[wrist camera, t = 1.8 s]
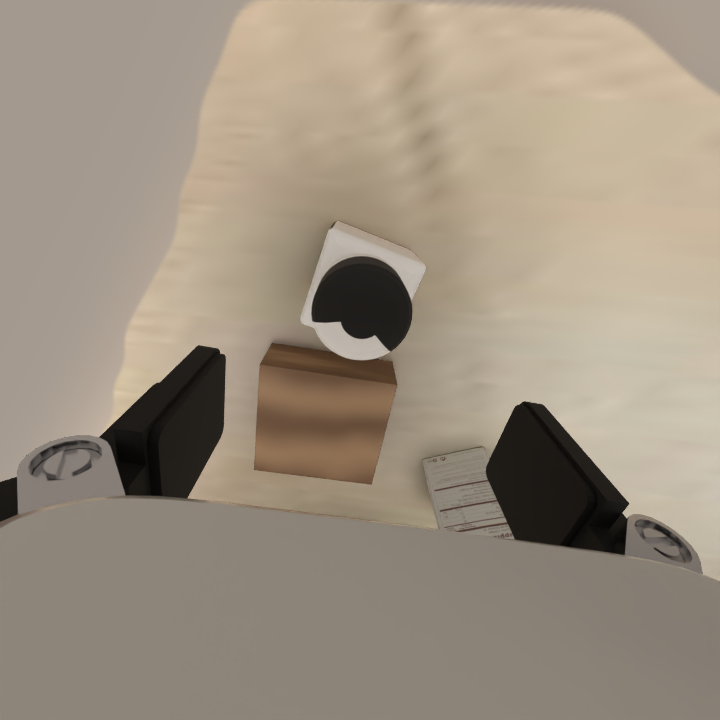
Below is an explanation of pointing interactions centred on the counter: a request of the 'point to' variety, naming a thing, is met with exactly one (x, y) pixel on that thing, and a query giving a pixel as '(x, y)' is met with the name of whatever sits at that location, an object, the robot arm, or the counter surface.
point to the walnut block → (322, 413)
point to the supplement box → (464, 494)
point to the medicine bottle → (362, 293)
